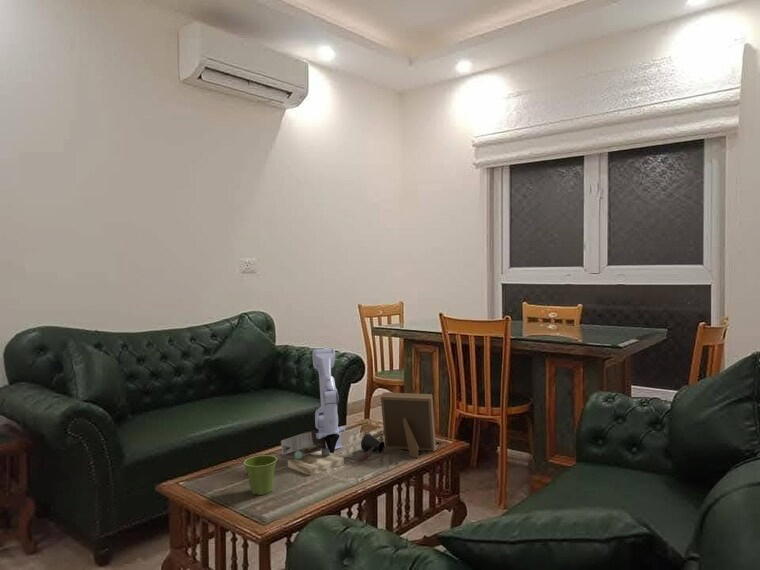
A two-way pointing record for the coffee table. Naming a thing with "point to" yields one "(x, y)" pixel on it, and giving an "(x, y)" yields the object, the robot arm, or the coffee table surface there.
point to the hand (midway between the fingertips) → (331, 452)
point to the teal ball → (298, 455)
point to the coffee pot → (370, 445)
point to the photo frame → (408, 421)
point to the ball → (325, 451)
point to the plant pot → (261, 473)
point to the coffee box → (302, 444)
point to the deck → (315, 463)
